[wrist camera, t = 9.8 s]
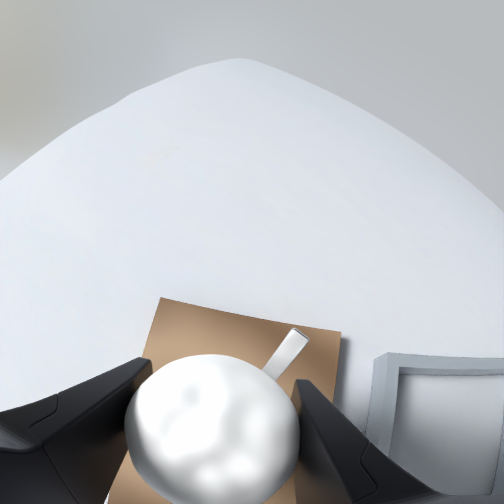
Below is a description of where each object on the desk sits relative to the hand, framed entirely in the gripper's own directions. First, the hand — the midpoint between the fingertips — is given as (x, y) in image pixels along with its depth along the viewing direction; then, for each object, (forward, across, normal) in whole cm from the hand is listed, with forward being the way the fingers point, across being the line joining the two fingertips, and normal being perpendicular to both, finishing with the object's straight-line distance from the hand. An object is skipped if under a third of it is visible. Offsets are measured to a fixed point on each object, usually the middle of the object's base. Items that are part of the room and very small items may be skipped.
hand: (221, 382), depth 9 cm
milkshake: (+4, 0, +6) cm, 7 cm away
